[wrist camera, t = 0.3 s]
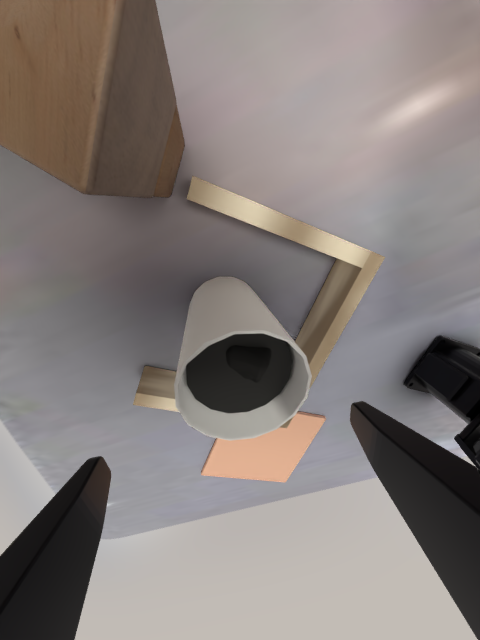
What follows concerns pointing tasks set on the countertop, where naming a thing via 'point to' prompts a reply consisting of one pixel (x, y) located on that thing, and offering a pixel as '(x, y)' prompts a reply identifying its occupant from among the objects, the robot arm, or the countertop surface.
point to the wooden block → (90, 94)
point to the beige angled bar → (329, 307)
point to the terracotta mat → (264, 451)
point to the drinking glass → (237, 364)
